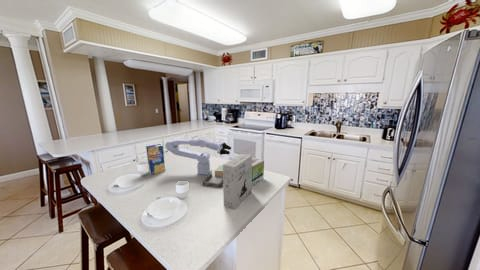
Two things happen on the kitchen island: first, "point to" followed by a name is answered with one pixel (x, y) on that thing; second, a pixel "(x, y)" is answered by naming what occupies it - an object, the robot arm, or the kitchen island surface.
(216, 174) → the kraft carton
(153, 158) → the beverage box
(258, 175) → the tea box
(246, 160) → the cereal box
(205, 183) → the shallow grey tray
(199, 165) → the robot arm
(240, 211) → the kitchen island surface
